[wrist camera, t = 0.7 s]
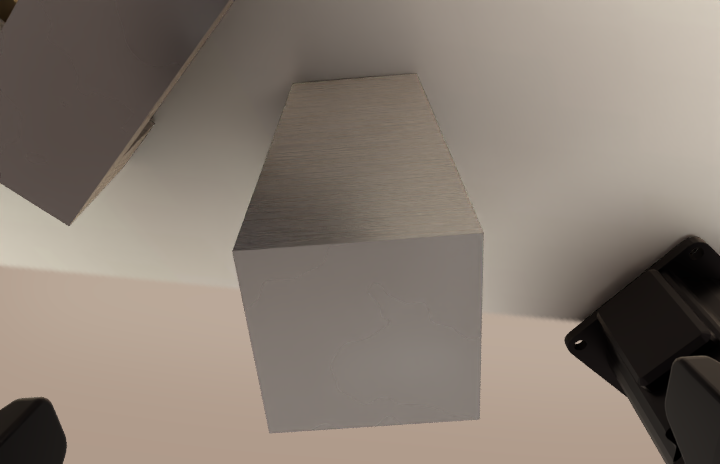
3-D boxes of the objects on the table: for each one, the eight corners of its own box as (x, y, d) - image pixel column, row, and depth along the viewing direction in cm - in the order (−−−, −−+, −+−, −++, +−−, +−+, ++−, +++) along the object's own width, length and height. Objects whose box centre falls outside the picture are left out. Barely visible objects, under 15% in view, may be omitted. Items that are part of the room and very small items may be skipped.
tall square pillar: (416, 73, 19) (483, 233, 9) (420, 187, 21) (479, 419, 11) (288, 83, 19) (223, 252, 10) (303, 196, 21) (261, 433, 11)
